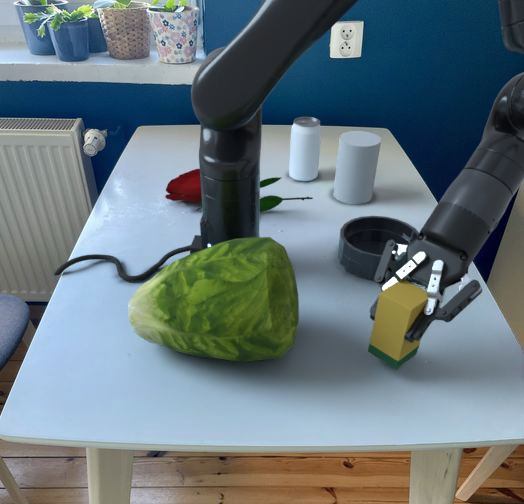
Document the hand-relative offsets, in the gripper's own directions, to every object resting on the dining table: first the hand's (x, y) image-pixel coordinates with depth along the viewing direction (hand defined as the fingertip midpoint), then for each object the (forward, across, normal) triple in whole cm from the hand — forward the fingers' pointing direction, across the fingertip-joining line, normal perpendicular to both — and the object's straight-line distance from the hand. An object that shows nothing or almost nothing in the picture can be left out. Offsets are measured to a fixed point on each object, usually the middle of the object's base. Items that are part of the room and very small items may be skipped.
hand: (391, 329), depth 70 cm
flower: (-6, -48, +17) cm, 52 cm away
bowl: (-10, -18, +21) cm, 29 cm away
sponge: (+2, 0, +5) cm, 6 cm away
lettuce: (+15, -20, -4) cm, 25 cm away
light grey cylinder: (-22, -37, +33) cm, 54 cm away
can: (-21, -51, +32) cm, 64 cm away
